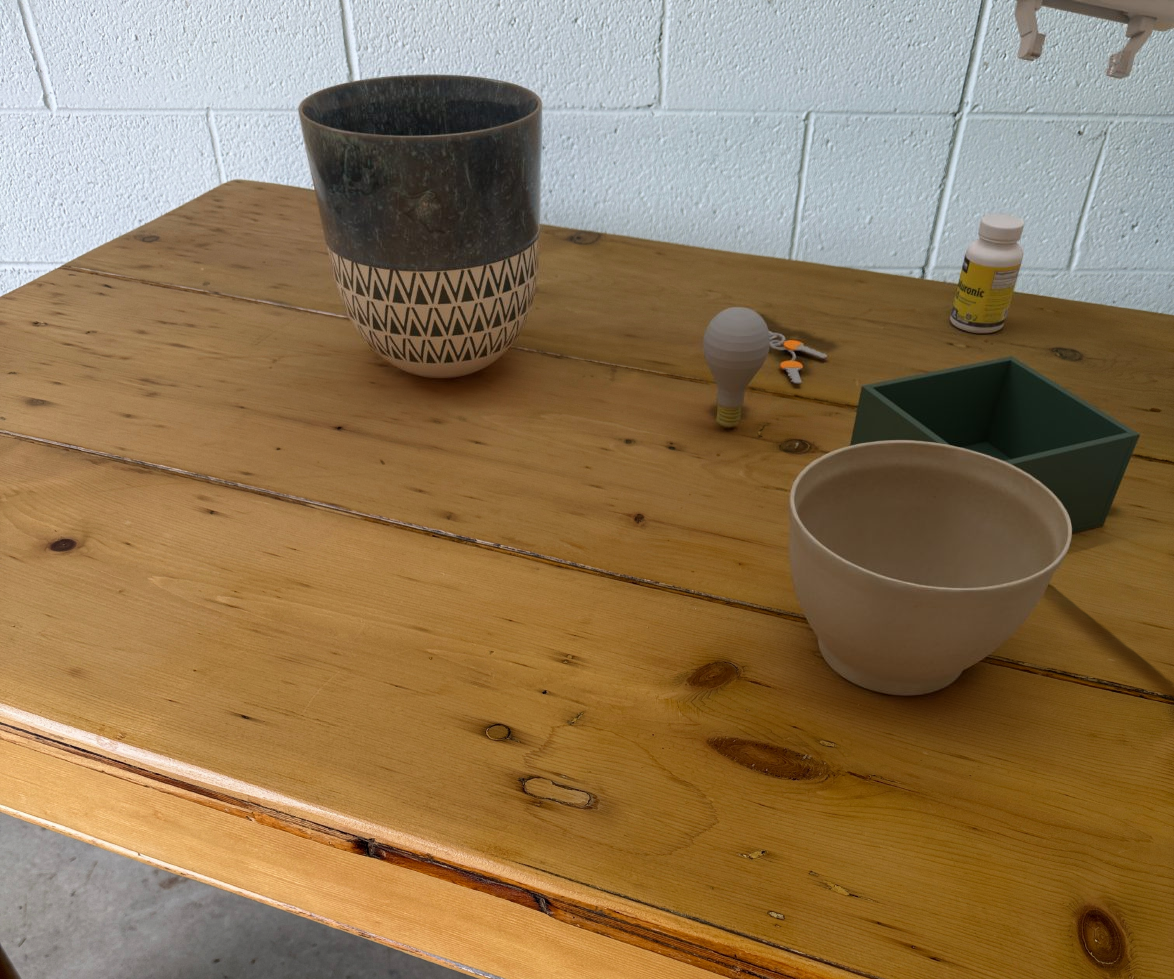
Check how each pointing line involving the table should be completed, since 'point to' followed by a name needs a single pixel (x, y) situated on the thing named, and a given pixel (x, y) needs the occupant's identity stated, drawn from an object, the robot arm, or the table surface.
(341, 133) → the planter
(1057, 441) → the bin
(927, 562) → the planter bowl
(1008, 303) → the supplement bottle
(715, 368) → the light bulb
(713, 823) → the table surface
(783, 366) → the key chain
